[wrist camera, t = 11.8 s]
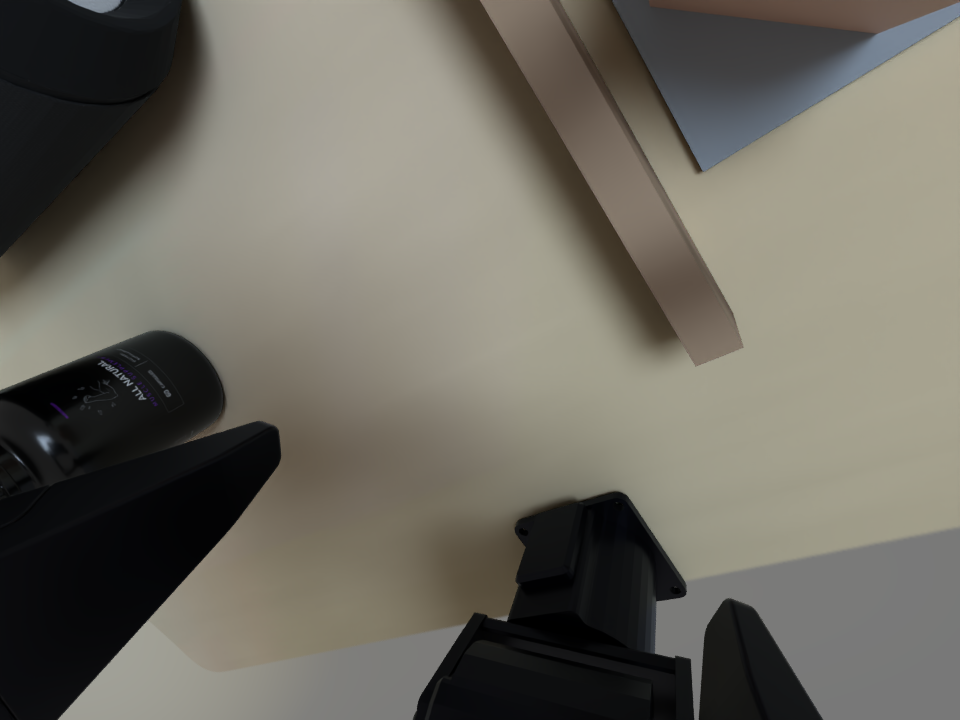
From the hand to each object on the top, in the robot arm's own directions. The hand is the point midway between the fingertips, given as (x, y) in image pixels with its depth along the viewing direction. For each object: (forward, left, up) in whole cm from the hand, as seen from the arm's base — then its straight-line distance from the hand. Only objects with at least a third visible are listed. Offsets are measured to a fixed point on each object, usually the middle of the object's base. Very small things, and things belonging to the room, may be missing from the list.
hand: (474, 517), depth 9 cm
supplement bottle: (+8, +24, -12) cm, 28 cm away
